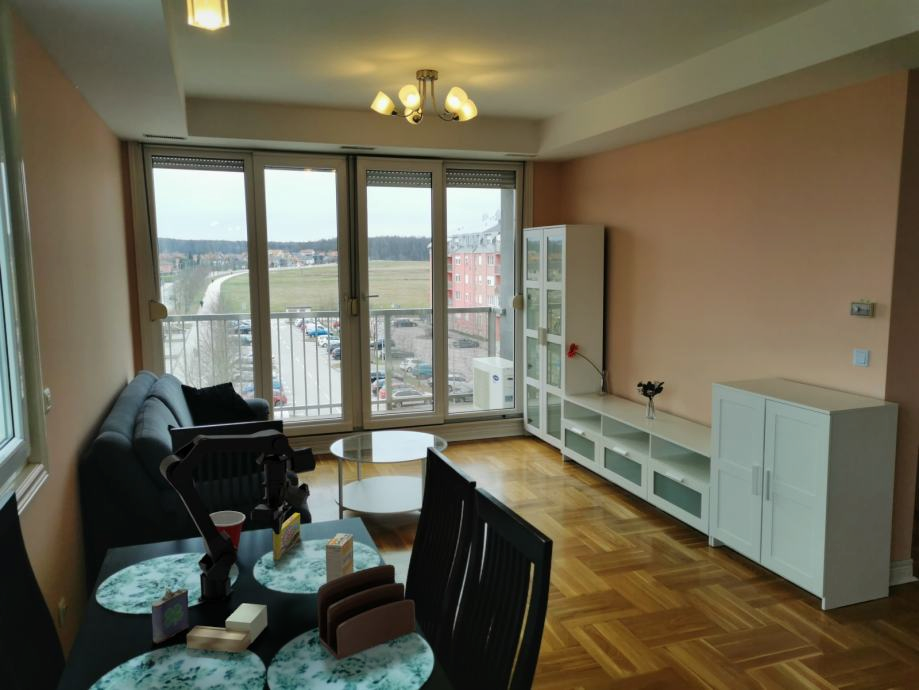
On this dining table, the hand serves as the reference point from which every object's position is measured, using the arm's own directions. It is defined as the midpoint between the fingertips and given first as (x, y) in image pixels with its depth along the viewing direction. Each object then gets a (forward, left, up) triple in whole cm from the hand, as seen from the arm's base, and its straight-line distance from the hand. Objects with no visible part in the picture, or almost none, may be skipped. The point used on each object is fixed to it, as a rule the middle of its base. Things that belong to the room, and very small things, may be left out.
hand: (277, 534), depth 182 cm
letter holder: (+32, -24, -13) cm, 42 cm away
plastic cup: (-21, +11, -13) cm, 27 cm away
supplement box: (+18, -2, -13) cm, 22 cm away
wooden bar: (+1, -33, -12) cm, 35 cm away
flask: (-13, -30, -13) cm, 35 cm away
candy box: (-6, +19, -13) cm, 24 cm away
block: (+4, -27, -13) cm, 30 cm away
